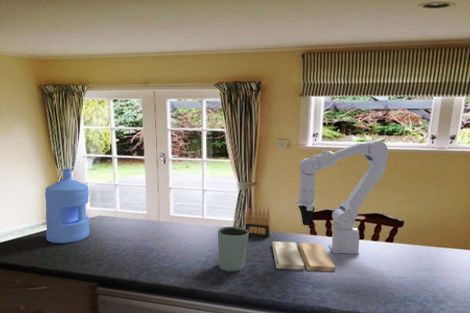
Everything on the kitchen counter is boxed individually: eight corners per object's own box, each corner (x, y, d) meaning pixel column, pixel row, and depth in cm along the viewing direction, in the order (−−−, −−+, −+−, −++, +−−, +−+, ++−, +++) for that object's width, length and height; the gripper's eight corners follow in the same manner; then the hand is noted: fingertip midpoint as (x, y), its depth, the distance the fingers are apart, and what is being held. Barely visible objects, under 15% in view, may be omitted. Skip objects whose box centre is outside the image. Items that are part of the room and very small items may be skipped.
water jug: (36, 241, 131) (34, 170, 129) (67, 229, 146) (66, 166, 144) (69, 246, 126) (67, 172, 124) (97, 233, 141) (96, 168, 139)
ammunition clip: (269, 236, 143) (270, 208, 142) (269, 237, 142) (270, 209, 141) (245, 233, 146) (246, 206, 145) (244, 235, 144) (245, 207, 143)
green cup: (213, 262, 114) (213, 228, 113) (240, 258, 118) (240, 225, 117) (223, 274, 105) (224, 237, 104) (252, 269, 109) (253, 233, 108)
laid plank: (320, 247, 131) (320, 243, 131) (334, 271, 109) (335, 266, 109) (297, 246, 131) (297, 242, 131) (307, 270, 109) (307, 265, 109)
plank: (294, 246, 131) (295, 242, 131) (304, 269, 109) (304, 264, 109) (272, 245, 132) (272, 241, 132) (276, 268, 110) (276, 263, 110)
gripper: (294, 186, 135) (292, 219, 136) (299, 193, 120) (297, 230, 121) (311, 186, 134) (310, 219, 135) (319, 193, 120) (317, 230, 121)
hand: (305, 224), depth 128 cm, fingers closed
